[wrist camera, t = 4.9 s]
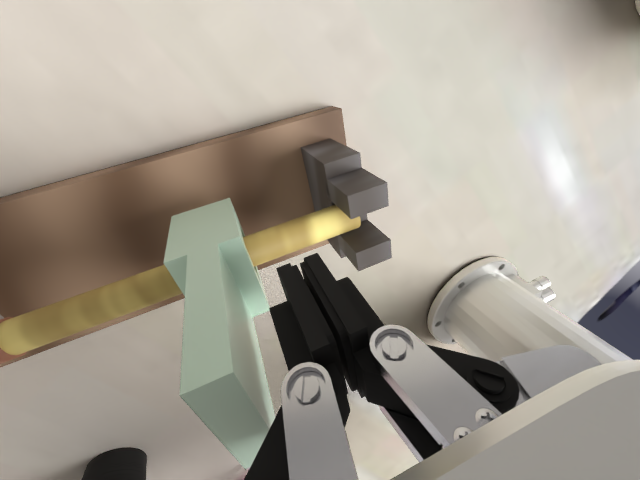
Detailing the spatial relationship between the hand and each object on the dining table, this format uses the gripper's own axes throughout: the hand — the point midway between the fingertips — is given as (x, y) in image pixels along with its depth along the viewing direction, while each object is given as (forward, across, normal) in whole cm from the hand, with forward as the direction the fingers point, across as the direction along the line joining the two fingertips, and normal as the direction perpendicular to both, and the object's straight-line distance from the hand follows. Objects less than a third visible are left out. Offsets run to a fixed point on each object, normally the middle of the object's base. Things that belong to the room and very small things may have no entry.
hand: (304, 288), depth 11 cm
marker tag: (+7, +3, 0) cm, 7 cm away
